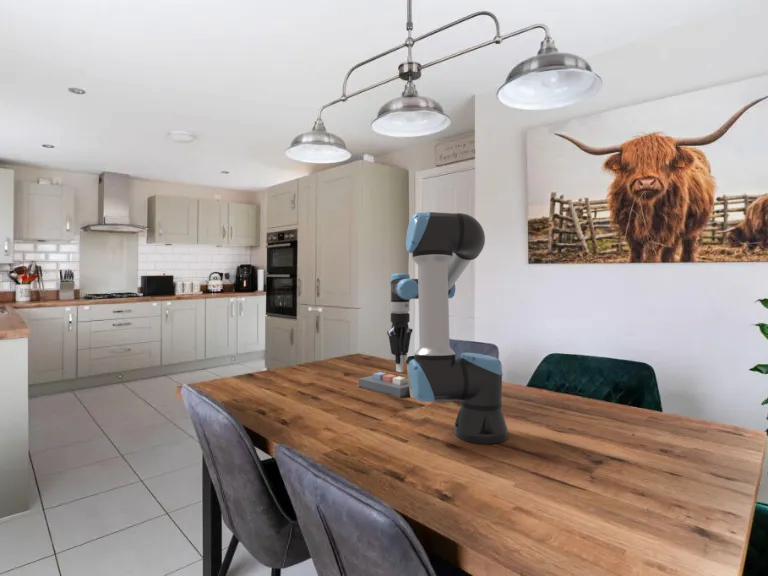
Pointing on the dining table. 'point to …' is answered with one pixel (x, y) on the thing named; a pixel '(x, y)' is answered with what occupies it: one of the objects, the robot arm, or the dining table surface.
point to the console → (384, 387)
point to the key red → (388, 378)
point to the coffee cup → (408, 375)
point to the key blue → (379, 375)
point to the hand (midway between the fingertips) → (399, 371)
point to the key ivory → (399, 380)
